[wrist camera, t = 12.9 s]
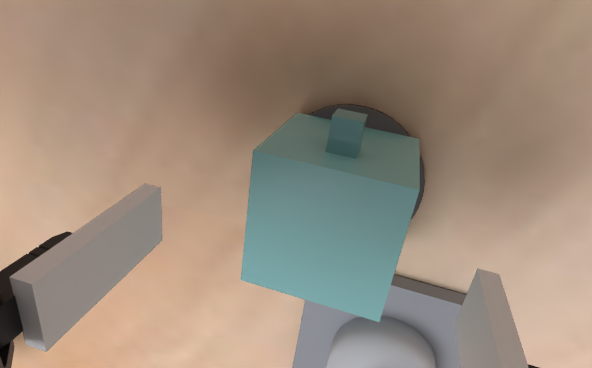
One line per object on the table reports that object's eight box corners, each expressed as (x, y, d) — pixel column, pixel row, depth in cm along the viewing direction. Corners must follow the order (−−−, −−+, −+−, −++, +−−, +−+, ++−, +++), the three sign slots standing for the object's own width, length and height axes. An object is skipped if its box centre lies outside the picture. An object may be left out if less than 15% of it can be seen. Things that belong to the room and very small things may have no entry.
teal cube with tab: (389, 244, 25) (379, 322, 19) (282, 215, 26) (240, 279, 20) (428, 108, 21) (431, 149, 15) (301, 83, 22) (256, 111, 16)
